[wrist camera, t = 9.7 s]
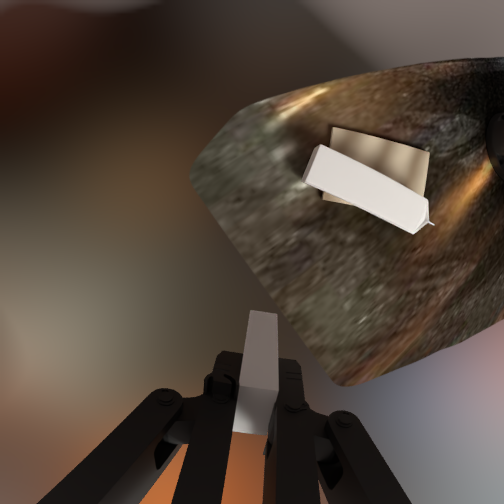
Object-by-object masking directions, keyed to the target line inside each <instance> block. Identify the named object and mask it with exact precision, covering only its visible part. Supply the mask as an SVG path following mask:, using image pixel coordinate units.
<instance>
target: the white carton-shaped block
mask: <svg viewBox="0 0 504 504" xmlns="http://www.w3.org/2000/svg"><path fill="white" fill-rule="evenodd" d="M301 182H304V183H306V184H308V185H311V186H313V187H315V188H317V189H320V190H322V191H324V192H326V193H329V194H331V195H333V196H335V197H337V198H340V199H342V200H344V201H346V202H348V203H350V204H352V205H355V206H357V207H359V208H361V209H363V210H365V211H367V212H369V213H371V214H373V215H375V216H377V217H379V218H381V219H383V220H385V221H387V222H389V223H391V224H393V225H395V226H397V227H399V228H401V229H403V230H405V231H407V232H410V233H412V234H415V233H416V232H417V231H418V230H420V229H421V228H422V227H423V226H424V225H426V224H427V223H429V224H432V225H434V224H433V223H431V222H429V210H428V200H427V199H426V198H424V197H422V196H421V195H419V194H417V193H416V192H414V191H412V190H410V189H409V188H407V187H405V186H403V185H402V184H400V183H398V182H396V181H394V180H392V179H391V178H389V177H387V176H385V175H383V174H381V173H379V172H377V171H376V170H374V169H372V168H370V167H368V166H366V165H364V164H362V163H360V162H358V161H356V160H354V159H352V158H350V157H347V156H345V155H343V154H341V153H339V152H337V151H335V150H333V149H330V148H328V147H326V146H324V145H321V144H320V145H318V146H317V147H315V148H314V150H313V153H312V155H311V157H310V160H309V162H308V165H307V167H306V170H305V172H304V174H303V177H302V179H301Z"/></svg>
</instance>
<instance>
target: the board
mask: <svg viewBox="0 0 504 504" xmlns="http://www.w3.org/2000/svg"><path fill="white" fill-rule="evenodd" d="M329 148H330V149H333V150H335V151H337V152H339V153H341V154H343V155H345V156H347V157H350V158H352V159H354V160H356V161H358V162H360V163H362V164H364V165H366V166H368V167H370V168H372V169H374V170H376V171H377V172H379V173H381V174H383V175H385V176H387V177H389V178H391V179H392V180H394V181H396V182H398V183H400V184H402V185H403V186H405V187H407V188H409V189H410V190H412V191H414V192H416V193H417V194H419V195H421V196H422V197H423V196H424V189H425V183H426V176H427V169H428V161H429V152H426V151H423V150H420V149H416V148H413V147H410V146H407V145H403V144H400V143H396V142H393V141H389V140H385V139H382V138H378V137H374V136H370V135H366V134H362V133H358V132H353V131H349V130H345V129H340V128H335V127H333V128H332V131H331V139H330V146H329ZM322 199H323V200H328V201H334V202H339V203H344V204H350V203H348V202H346V201H344V200H342V199H340V198H337V197H335V196H333V195H331V194H329V193H326V192H324V191H323V193H322ZM350 205H352V204H350Z"/></svg>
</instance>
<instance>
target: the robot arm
mask: <svg viewBox="0 0 504 504" xmlns="http://www.w3.org/2000/svg"><path fill="white" fill-rule="evenodd" d="M486 144H487V151H488V155H489V158H490V161H491V164H492V166H493V168H494V170H495V171H496V173H497V174H498V175H499V176H500V177H501V178H502V179H503V180H504V112H500V113H497V114H495V115H494V116H493V117H492V118H491V120H490V121H489V124H488V127H487V133H486ZM277 331H278V328H277V314H274V313H267V312H260V311H253V310H251V311H250V316H249V323H248V329H247V336H246V342H245V348H244V354H241V353H235V352H229V351H222V352H221V353H220V354H218V356H217V358H216V361H215V364H214V368H213V371H212V373H210V374H208V375H207V376H206V377H205V379H204V392H203V394H202V395H200V396H197V397H191V398H182V396H181V395H180V394H179V393H178V392H176V391H175V390H172V389H168V388H161V389H157V390H155V391H153V392H151V394H149V395H148V397H146V398H145V399H144V400H143V402H141V403H140V404H139V406H137V407H136V408H135V409H134V410H133V412H131V414H129V415H128V416H127V417H126V419H124V420H123V422H121V423H120V424H119V426H117V427H116V428H115V429H114V430H113V431H112V433H110V434H109V435H108V436H107V437H106V438H105V439H104V440H103V441H102V442H101V443H100V444H99V445H98V446H97V447H96V448H95V449H94V450H93V451H92V452H91V453H90V454H89V455H88V456H87V457H86V458H85V459H84V460H83V461H82V462H81V463H79V464H78V465H77V466H76V467H75V468H74V469H73V470H72V471H71V472H70V473H69V474H68V475H67V476H66V477H65V478H64V479H63V480H62V481H61V482H59V483H58V484H57V485H56V486H55V487H54V488H53V489H52V490H51V491H50V492H49V493H48V494H47V495H45V496H44V497H43V498H42V499H41V500H40V501H39V502H38V503H37V504H139V503H140V502H141V500H142V499H143V498H144V497H145V495H146V494H147V492H148V491H149V490H150V489H151V487H152V486H153V485H154V483H155V482H156V481H157V479H158V478H159V476H160V475H161V474H162V473H163V471H164V470H165V468H166V467H167V466H168V464H169V463H170V462H171V460H172V459H173V457H174V456H175V455H176V453H177V452H178V451H179V449H180V448H181V446H182V444H189V445H188V448H187V452H186V455H185V458H184V462H183V465H182V469H181V472H180V475H179V479H178V482H177V485H176V489H175V492H174V496H173V499H172V503H171V504H221V500H222V494H223V488H224V481H225V475H226V469H227V463H228V456H229V450H230V444H231V437H232V431H236V432H243V433H250V434H258V435H267V432H268V439H267V442H266V445H265V449H264V452H263V455H265V468H264V486H263V503H262V504H320V493H319V483H318V480H319V482H320V484H321V487H322V489H323V492H324V494H325V496H326V499H327V501H328V503H329V504H412V503H411V502H410V500H409V498H408V497H407V495H406V494H405V492H404V491H403V489H402V487H401V486H400V484H399V482H398V481H397V479H396V478H395V476H394V475H393V473H392V472H391V470H390V468H389V466H388V465H387V463H386V462H385V460H384V458H383V457H382V455H381V454H380V452H379V450H378V449H377V447H376V446H375V444H374V443H373V441H372V439H371V438H370V436H369V434H368V433H367V431H366V430H365V428H364V426H363V425H362V423H361V422H360V420H359V419H358V418H357V417H356V416H355V415H354V414H352V413H351V412H348V411H335V412H333V413H331V414H330V415H329V416H326V415H322V414H319V413H316V412H314V411H313V410H311V409H310V407H309V405H308V403H307V402H306V401H305V397H304V389H303V381H302V375H301V374H302V372H301V366H300V365H299V364H298V362H297V361H296V360H291V359H283V358H278V332H277Z"/></svg>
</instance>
